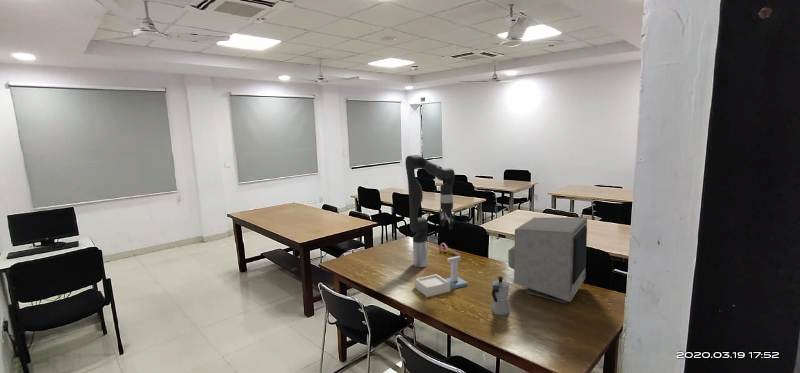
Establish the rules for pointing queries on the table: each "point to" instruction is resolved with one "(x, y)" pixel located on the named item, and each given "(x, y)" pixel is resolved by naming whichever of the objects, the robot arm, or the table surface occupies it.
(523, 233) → the crt monitor
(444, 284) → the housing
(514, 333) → the table surface
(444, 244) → the pink and white arrow
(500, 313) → the coffee maker
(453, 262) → the snap cover
